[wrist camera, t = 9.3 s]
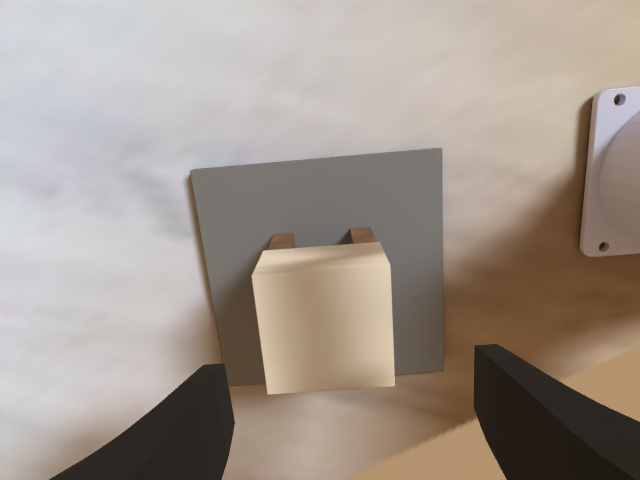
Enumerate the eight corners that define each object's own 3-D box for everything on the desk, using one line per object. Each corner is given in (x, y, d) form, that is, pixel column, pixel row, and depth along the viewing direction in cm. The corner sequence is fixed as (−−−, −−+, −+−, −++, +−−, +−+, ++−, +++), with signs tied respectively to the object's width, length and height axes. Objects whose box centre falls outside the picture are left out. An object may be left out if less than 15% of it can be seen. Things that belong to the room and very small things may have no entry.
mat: (438, 148, 20) (442, 148, 20) (440, 365, 24) (443, 371, 23) (193, 169, 21) (189, 170, 20) (229, 379, 24) (227, 386, 23)
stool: (372, 224, 21) (390, 265, 15) (376, 316, 22) (394, 386, 16) (271, 232, 21) (251, 275, 15) (282, 322, 22) (267, 394, 16)
